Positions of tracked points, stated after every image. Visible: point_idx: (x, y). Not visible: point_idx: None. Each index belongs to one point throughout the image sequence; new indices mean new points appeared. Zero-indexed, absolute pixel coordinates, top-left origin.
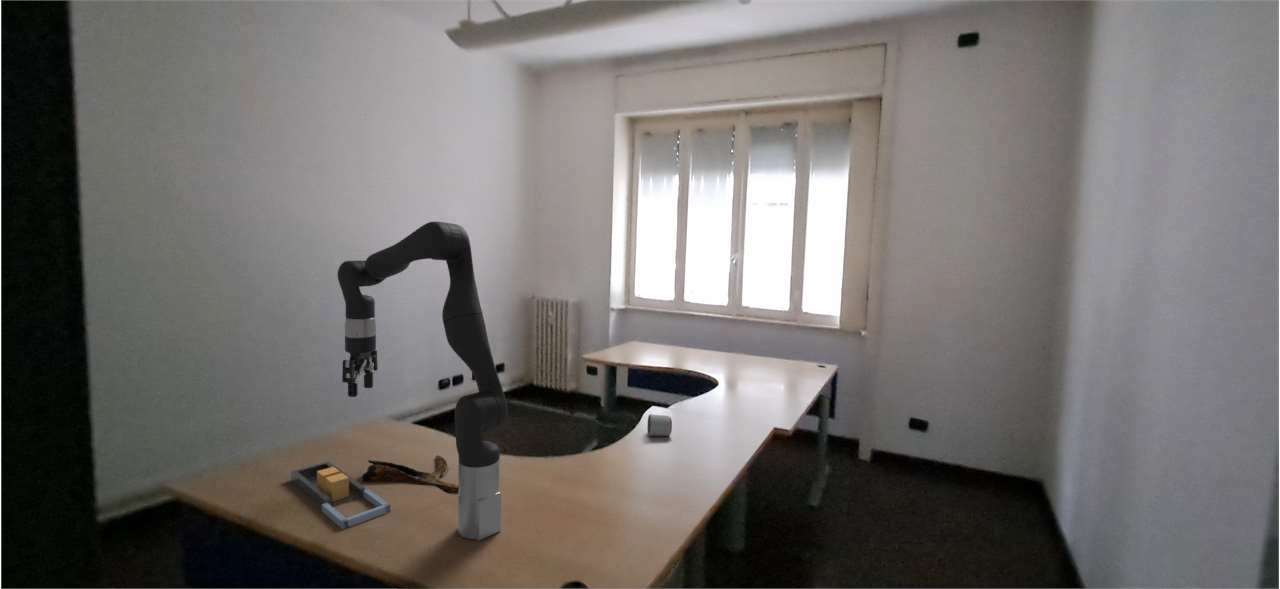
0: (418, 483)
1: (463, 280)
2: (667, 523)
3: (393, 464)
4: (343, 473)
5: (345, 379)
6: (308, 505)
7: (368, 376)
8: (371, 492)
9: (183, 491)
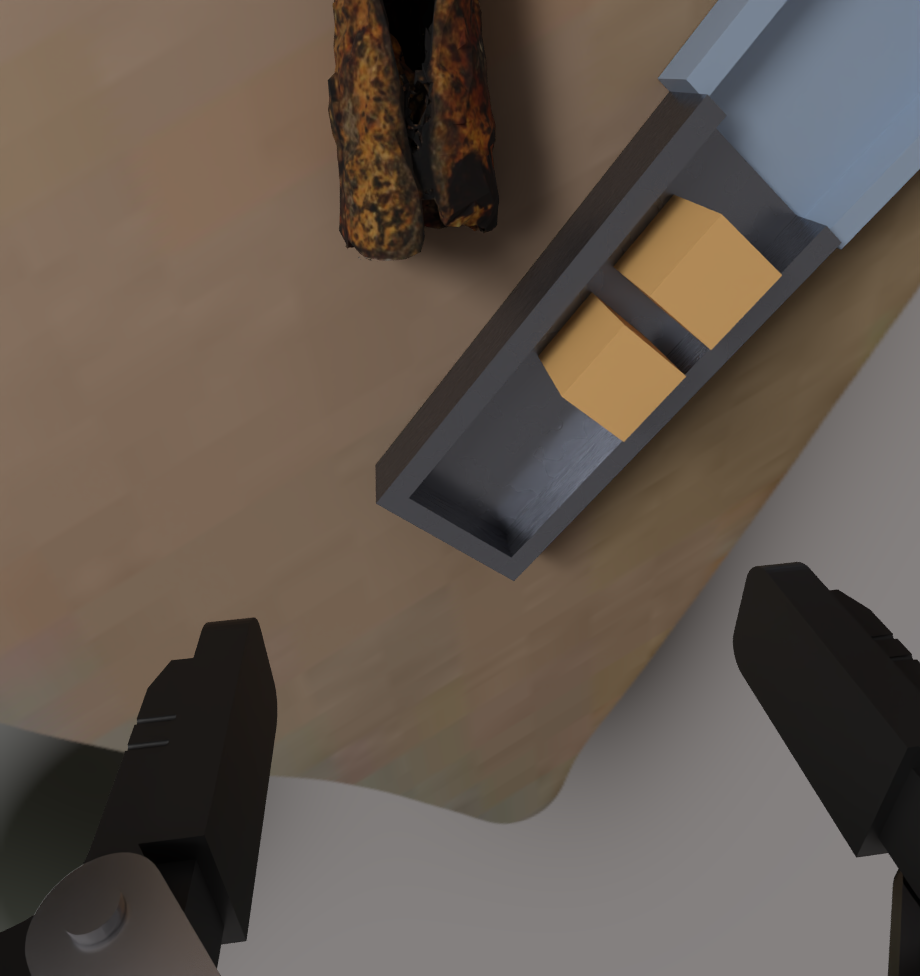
0: None
1: None
2: None
3: (391, 49)
4: (520, 338)
5: None
6: None
7: (229, 854)
8: (737, 25)
9: (564, 779)
